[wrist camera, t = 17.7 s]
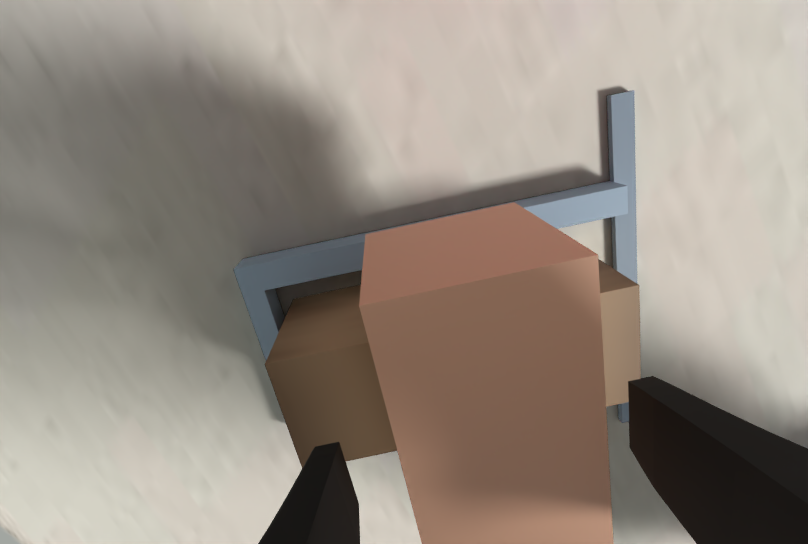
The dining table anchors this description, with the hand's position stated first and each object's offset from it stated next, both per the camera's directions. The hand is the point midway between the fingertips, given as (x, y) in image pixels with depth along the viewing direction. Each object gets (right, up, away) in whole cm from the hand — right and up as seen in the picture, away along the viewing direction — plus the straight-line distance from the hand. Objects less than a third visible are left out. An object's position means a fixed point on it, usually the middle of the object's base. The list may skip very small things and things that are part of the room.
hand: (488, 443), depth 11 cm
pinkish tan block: (0, +1, +2) cm, 3 cm away
